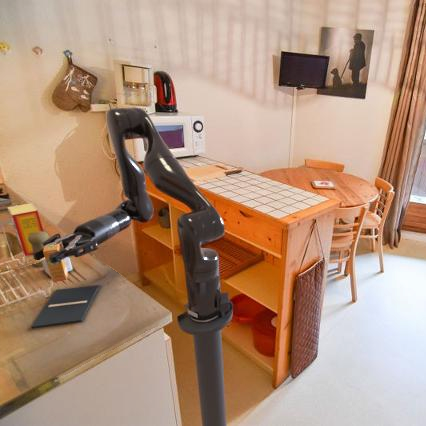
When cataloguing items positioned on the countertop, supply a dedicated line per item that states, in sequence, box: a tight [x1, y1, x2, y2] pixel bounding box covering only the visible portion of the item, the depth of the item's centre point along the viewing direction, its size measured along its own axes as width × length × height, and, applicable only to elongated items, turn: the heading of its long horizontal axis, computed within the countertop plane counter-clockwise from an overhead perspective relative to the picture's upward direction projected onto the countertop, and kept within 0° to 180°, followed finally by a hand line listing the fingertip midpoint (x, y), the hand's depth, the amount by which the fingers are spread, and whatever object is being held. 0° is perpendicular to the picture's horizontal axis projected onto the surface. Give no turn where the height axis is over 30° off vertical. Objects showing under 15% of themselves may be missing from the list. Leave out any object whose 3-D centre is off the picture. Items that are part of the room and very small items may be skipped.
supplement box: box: [43, 244, 69, 283], centre depth 85 cm, size 3×3×10 cm
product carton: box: [42, 257, 73, 278], centre depth 104 cm, size 6×6×7 cm
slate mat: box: [31, 284, 100, 329], centre depth 91 cm, size 11×16×1 cm
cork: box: [28, 231, 50, 267], centre depth 107 cm, size 6×6×11 cm
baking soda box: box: [6, 202, 45, 257], centre depth 113 cm, size 10×6×16 cm
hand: (43, 258), depth 81 cm, fingers closed on supplement box, 4 cm apart
